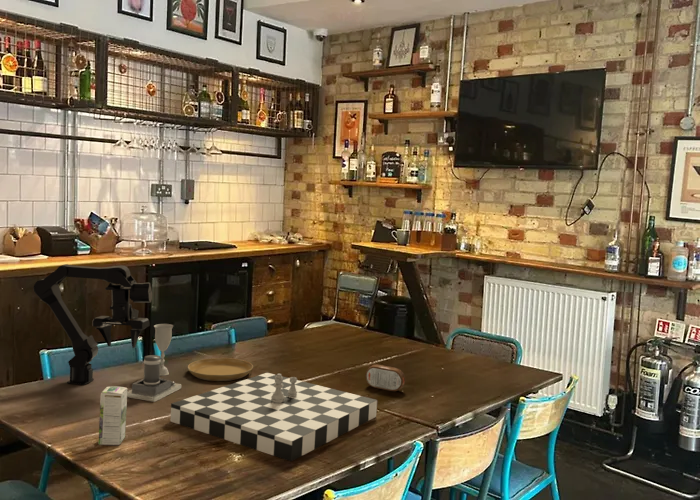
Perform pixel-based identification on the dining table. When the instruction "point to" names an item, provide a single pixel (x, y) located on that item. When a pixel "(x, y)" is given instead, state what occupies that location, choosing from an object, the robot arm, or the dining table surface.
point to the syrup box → (112, 415)
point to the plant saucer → (220, 369)
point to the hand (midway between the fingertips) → (121, 346)
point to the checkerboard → (275, 414)
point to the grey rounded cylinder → (152, 370)
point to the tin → (385, 377)
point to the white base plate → (152, 390)
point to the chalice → (163, 342)
